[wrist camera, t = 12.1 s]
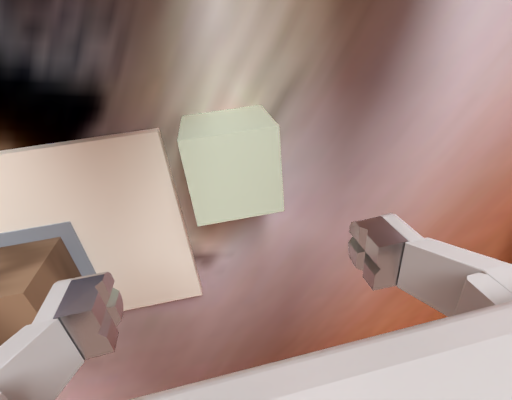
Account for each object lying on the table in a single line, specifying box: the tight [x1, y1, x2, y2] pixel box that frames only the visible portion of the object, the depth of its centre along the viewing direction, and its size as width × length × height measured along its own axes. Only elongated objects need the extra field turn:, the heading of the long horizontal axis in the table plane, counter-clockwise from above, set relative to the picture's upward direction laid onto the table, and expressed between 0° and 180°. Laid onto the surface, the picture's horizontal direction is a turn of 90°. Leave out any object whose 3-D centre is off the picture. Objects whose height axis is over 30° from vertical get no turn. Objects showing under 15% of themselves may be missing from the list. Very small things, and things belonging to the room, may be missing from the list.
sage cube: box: [177, 105, 284, 226], centre depth 18 cm, size 5×5×5 cm
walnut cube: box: [0, 237, 82, 346], centre depth 19 cm, size 6×6×5 cm
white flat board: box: [0, 128, 202, 311], centre depth 21 cm, size 18×14×1 cm
